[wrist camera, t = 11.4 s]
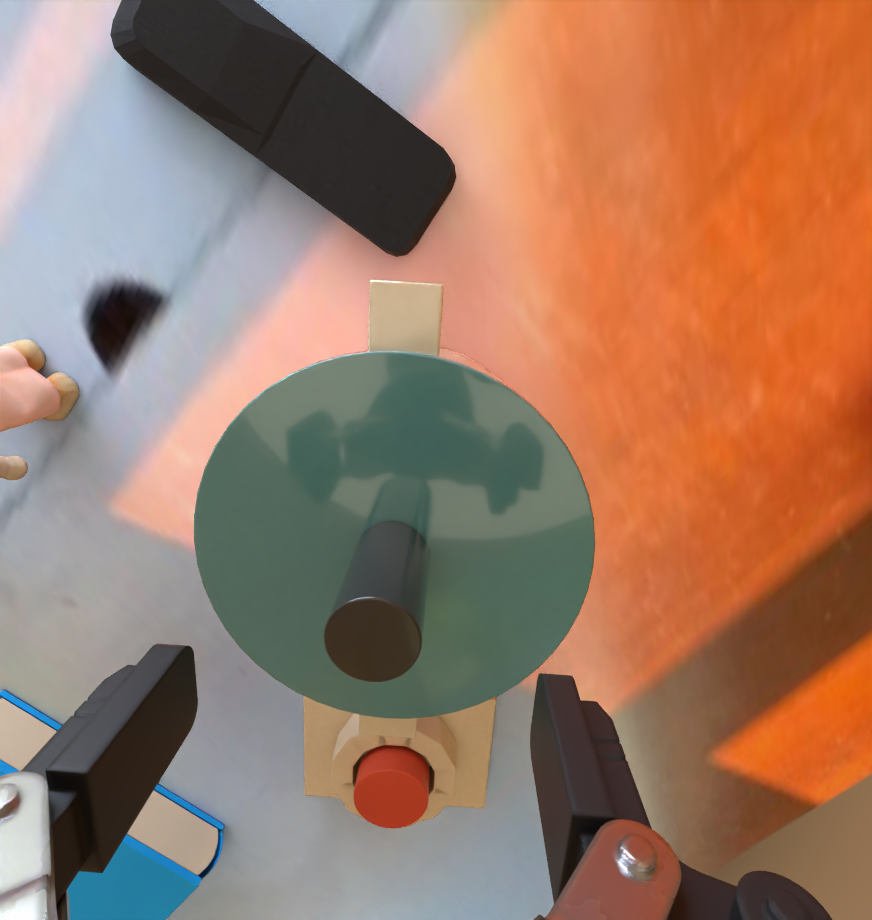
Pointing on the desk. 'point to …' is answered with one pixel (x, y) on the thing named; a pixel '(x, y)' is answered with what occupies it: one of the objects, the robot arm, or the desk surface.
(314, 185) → the remote control
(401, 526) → the lid
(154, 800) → the book
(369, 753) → the button
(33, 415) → the grandmother figurine
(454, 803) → the button box
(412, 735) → the pot
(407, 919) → the desk surface
